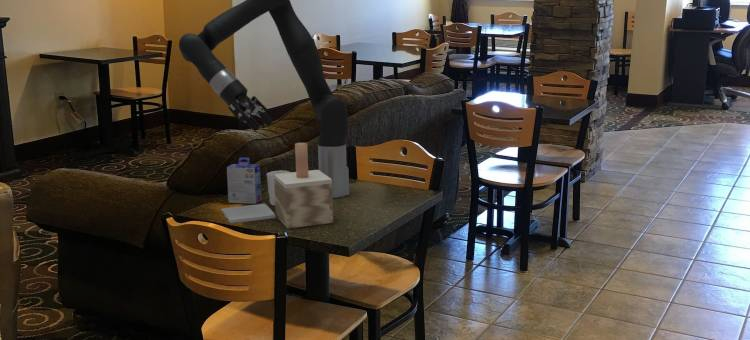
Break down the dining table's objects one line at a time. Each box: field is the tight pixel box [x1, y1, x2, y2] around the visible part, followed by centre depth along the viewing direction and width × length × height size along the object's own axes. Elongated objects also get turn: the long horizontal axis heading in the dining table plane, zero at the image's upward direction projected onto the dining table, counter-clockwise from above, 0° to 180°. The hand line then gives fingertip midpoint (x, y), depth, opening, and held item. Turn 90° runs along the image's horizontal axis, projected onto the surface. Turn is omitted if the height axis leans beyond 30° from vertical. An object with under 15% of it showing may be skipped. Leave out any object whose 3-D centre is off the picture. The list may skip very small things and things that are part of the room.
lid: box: [274, 142, 332, 188], centre depth 241 cm, size 14×14×11 cm
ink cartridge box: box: [226, 156, 263, 205], centre depth 265 cm, size 10×6×14 cm, turn 78°
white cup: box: [266, 170, 291, 207], centre depth 262 cm, size 8×8×10 cm
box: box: [274, 178, 334, 229], centre depth 243 cm, size 14×14×12 cm
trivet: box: [220, 203, 277, 224], centre depth 251 cm, size 14×14×1 cm
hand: (264, 126), depth 242 cm, fingers open, 8 cm apart
